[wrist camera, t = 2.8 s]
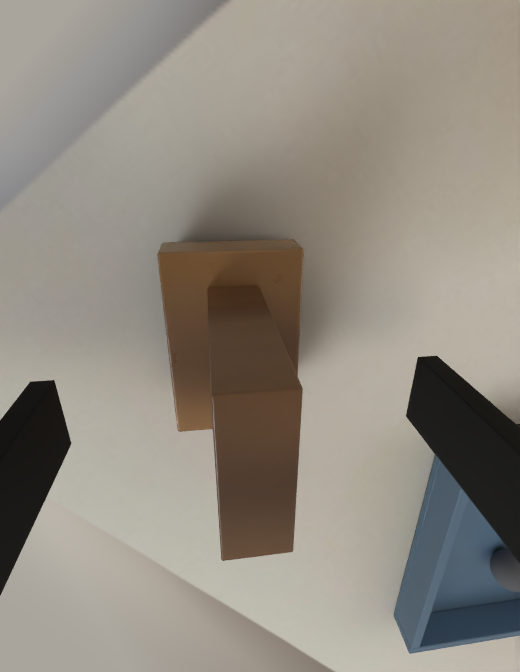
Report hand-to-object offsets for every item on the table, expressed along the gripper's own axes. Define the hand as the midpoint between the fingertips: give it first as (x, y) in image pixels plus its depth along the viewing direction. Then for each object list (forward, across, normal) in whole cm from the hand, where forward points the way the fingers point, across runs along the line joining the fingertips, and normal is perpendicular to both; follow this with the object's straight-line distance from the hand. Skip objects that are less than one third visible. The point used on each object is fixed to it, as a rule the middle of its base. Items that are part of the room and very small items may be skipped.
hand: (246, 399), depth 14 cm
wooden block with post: (+7, 0, 0) cm, 7 cm away
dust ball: (+6, +22, -22) cm, 32 cm away
